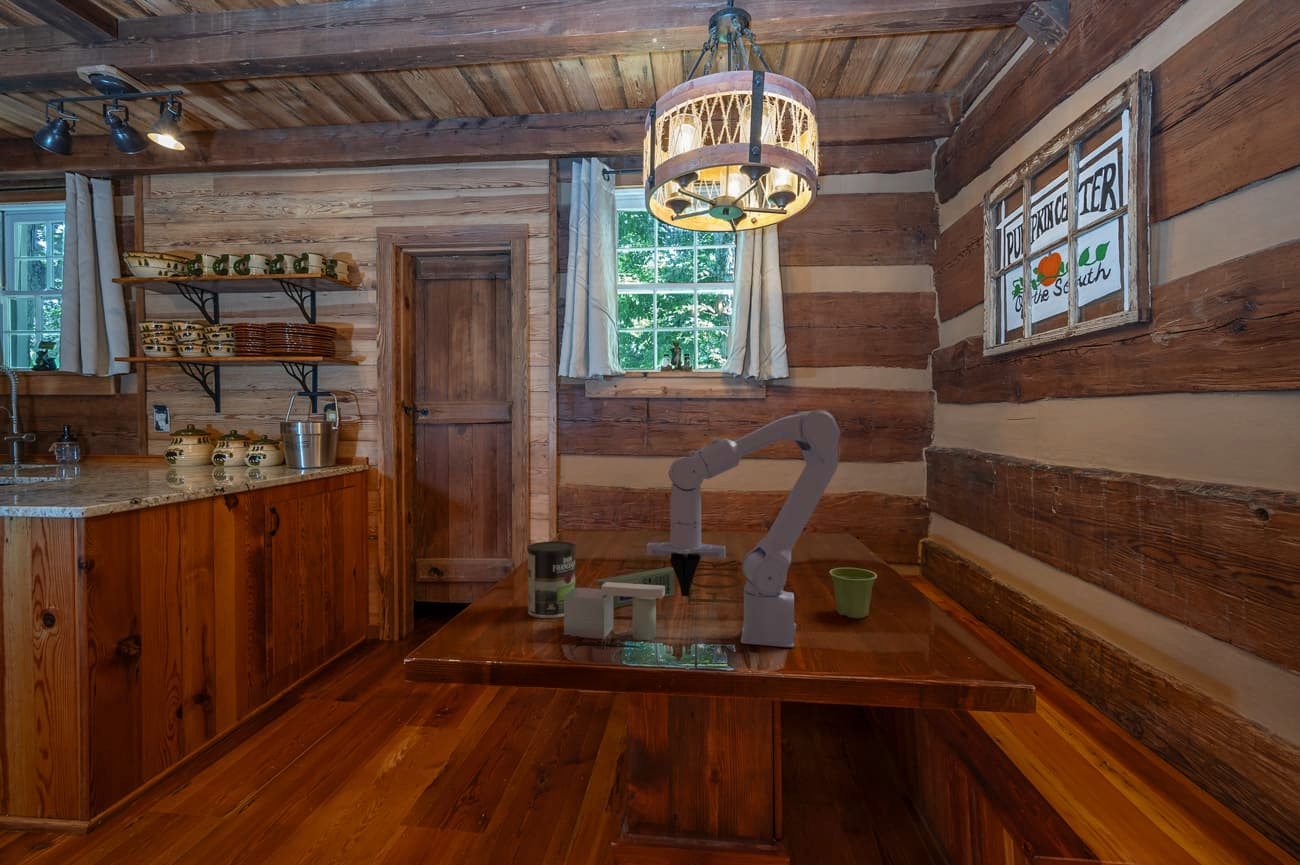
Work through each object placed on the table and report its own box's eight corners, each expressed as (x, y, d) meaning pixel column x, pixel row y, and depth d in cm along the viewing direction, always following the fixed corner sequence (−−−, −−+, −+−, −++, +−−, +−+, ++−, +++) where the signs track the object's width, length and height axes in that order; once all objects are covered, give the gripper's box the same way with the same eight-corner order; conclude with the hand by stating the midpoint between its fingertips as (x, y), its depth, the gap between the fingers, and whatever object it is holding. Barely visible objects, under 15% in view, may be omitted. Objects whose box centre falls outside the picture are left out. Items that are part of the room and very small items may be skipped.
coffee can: (585, 609, 122) (585, 544, 122) (550, 622, 114) (550, 553, 114) (553, 600, 128) (552, 538, 128) (517, 612, 120) (517, 546, 120)
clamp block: (613, 627, 111) (613, 589, 111) (604, 638, 105) (604, 599, 105) (575, 624, 113) (575, 587, 113) (564, 635, 107) (563, 596, 107)
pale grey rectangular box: (664, 594, 107) (664, 585, 107) (661, 598, 104) (661, 590, 104) (606, 590, 110) (606, 582, 109) (601, 594, 107) (601, 586, 107)
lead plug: (658, 633, 108) (658, 596, 108) (653, 641, 104) (652, 604, 104) (636, 631, 109) (635, 595, 109) (630, 639, 105) (629, 602, 105)
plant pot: (884, 621, 114) (884, 579, 114) (838, 621, 114) (838, 579, 114) (866, 606, 123) (866, 567, 123) (823, 607, 123) (823, 567, 123)
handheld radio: (676, 597, 132) (581, 617, 117) (668, 594, 134) (574, 614, 120) (675, 568, 132) (580, 585, 118) (667, 566, 134) (573, 582, 120)
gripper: (642, 523, 102) (642, 598, 102) (722, 527, 99) (722, 604, 99) (651, 517, 109) (651, 587, 109) (726, 520, 106) (726, 592, 106)
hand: (685, 594), depth 104 cm, fingers closed
